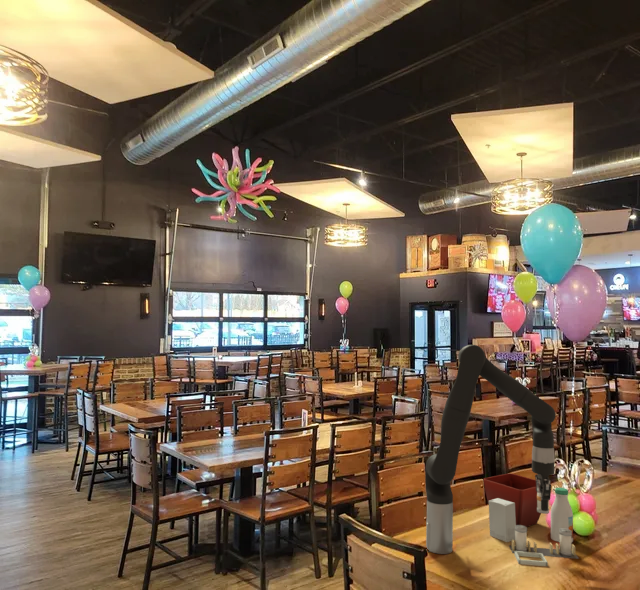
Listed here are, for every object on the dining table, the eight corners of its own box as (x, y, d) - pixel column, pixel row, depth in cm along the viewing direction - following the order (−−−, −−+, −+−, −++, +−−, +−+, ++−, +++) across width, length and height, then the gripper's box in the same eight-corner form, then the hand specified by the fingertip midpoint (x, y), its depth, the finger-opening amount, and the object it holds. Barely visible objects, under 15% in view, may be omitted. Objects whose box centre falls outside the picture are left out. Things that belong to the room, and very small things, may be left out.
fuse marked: (538, 513, 195) (538, 490, 196) (535, 509, 199) (535, 486, 200) (550, 514, 195) (550, 490, 195) (547, 510, 199) (547, 487, 199)
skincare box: (516, 543, 207) (516, 502, 208) (506, 546, 204) (506, 505, 205) (498, 536, 214) (498, 496, 215) (488, 539, 211) (488, 499, 212)
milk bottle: (563, 548, 204) (563, 492, 205) (546, 541, 210) (546, 487, 212) (577, 545, 207) (577, 490, 208) (560, 537, 214) (560, 485, 215)
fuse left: (516, 551, 196) (516, 528, 196) (514, 547, 200) (514, 524, 200) (528, 552, 195) (528, 529, 195) (525, 548, 199) (525, 525, 199)
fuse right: (561, 555, 193) (560, 532, 194) (558, 551, 197) (557, 528, 198) (573, 556, 193) (573, 532, 193) (569, 551, 197) (569, 528, 197)
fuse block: (512, 557, 194) (512, 544, 195) (508, 549, 201) (508, 537, 201) (579, 563, 191) (579, 549, 191) (573, 554, 198) (573, 542, 198)
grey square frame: (518, 568, 186) (518, 559, 186) (514, 559, 193) (514, 550, 193) (547, 570, 184) (547, 562, 184) (542, 561, 192) (542, 553, 192)
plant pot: (550, 524, 228) (549, 483, 229) (521, 534, 217) (521, 490, 218) (510, 511, 244) (510, 472, 245) (481, 519, 233) (482, 478, 234)
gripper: (527, 454, 206) (527, 501, 205) (536, 463, 191) (536, 514, 191) (549, 455, 204) (549, 503, 203) (559, 464, 190) (559, 515, 189)
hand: (542, 508), depth 197 cm, fingers closed on fuse marked, 4 cm apart
